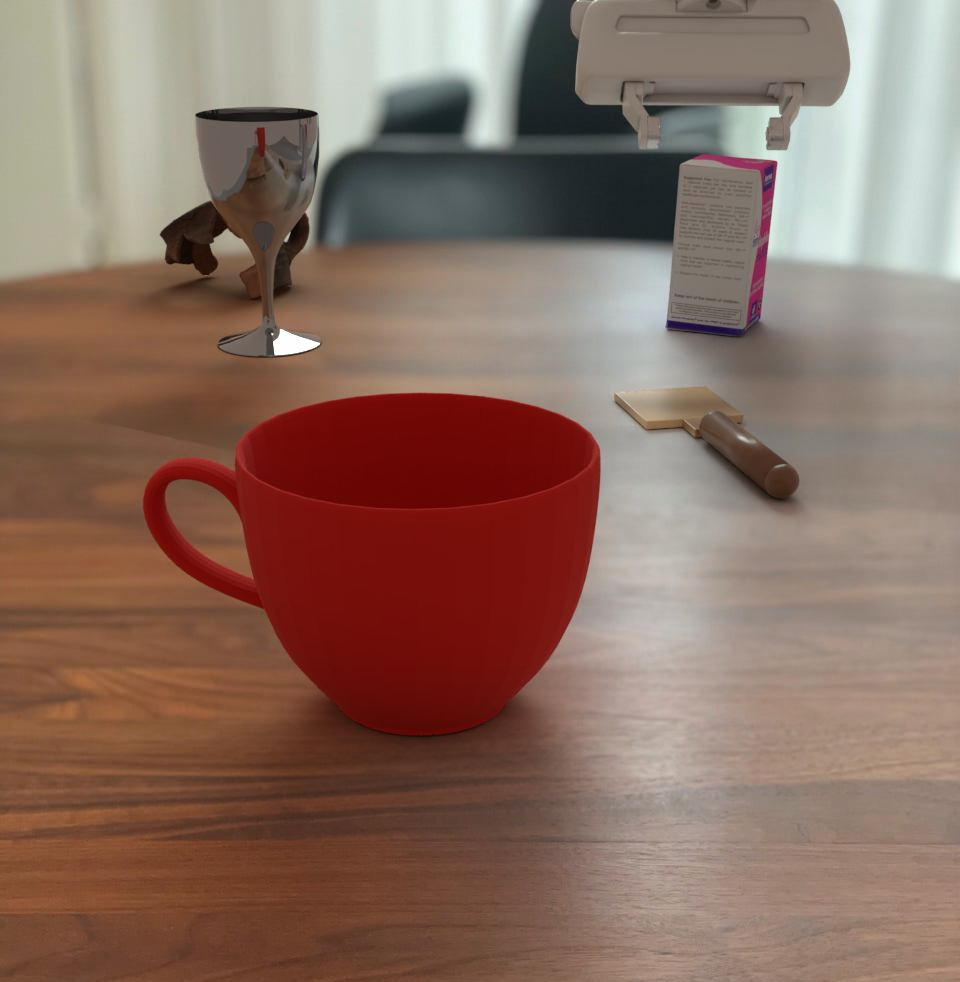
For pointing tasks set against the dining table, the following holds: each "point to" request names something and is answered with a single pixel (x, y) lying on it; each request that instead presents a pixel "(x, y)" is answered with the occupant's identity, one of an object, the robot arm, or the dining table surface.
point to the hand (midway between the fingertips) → (714, 145)
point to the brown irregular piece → (204, 223)
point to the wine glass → (261, 199)
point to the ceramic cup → (406, 547)
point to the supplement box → (720, 244)
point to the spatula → (712, 431)
